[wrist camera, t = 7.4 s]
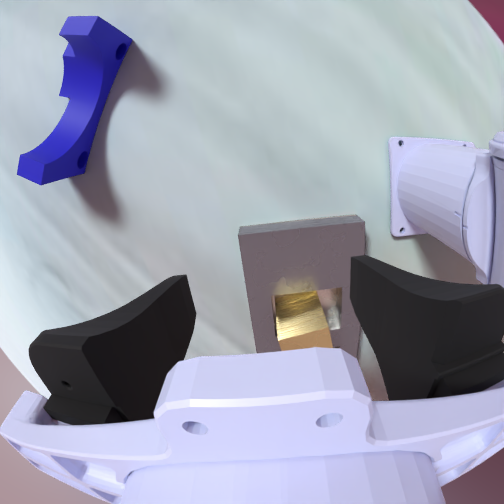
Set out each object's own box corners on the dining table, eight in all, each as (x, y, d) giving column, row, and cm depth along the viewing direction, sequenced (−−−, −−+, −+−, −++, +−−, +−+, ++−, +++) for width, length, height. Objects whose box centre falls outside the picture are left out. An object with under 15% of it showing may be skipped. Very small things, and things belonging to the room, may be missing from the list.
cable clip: (94, 36, 15) (55, 17, 10) (133, 40, 16) (98, 16, 10) (51, 160, 20) (6, 169, 14) (85, 173, 20) (40, 185, 14)
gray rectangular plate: (355, 214, 21) (364, 221, 19) (345, 389, 28) (349, 402, 26) (240, 226, 21) (238, 235, 19) (266, 399, 28) (267, 413, 27)
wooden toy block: (315, 287, 23) (328, 326, 18) (330, 354, 26) (341, 396, 20) (274, 298, 23) (278, 340, 18) (295, 363, 26) (301, 406, 21)
